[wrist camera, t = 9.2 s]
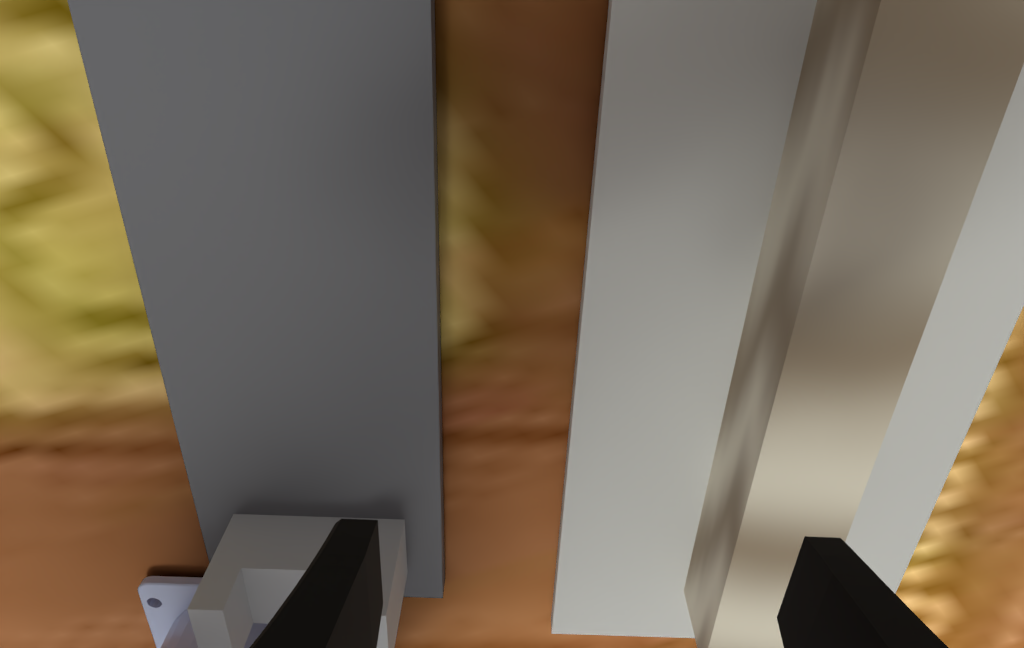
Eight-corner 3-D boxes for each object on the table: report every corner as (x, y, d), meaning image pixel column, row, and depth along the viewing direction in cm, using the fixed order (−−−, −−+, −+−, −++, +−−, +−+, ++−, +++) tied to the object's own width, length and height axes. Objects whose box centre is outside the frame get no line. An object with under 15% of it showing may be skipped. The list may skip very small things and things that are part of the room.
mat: (865, 629, 27) (872, 643, 26) (551, 619, 27) (551, 633, 26) (1295, -365, 13) (1327, -377, 12) (645, -394, 13) (651, -407, 12)
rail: (768, 593, 25) (796, 671, 22) (683, 591, 25) (702, 668, 22) (1020, -215, 14) (1139, -247, 11) (866, -220, 14) (948, -255, 11)
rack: (445, 579, 26) (431, 697, 22) (225, 572, 26) (171, 689, 22) (430, -263, 14) (394, -337, 10) (20, -280, 14) (-178, -361, 10)
